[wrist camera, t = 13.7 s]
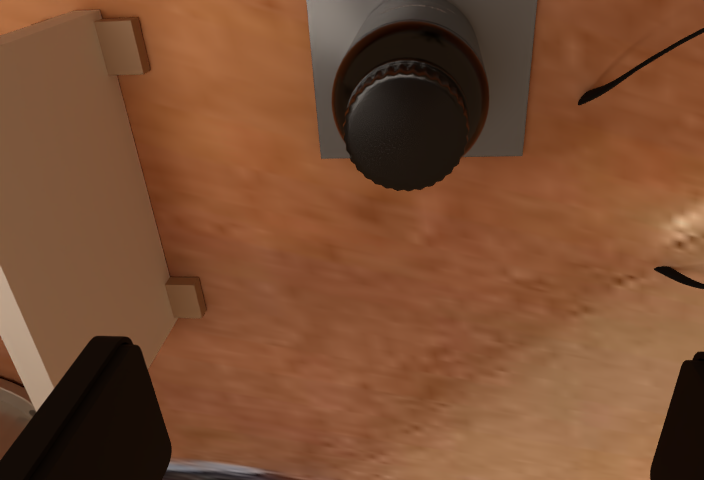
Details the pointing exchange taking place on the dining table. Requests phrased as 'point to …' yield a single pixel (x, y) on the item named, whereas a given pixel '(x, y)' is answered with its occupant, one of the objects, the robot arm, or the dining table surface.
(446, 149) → the supplement bottle
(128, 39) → the screen
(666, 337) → the dining table surface
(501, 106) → the pad
